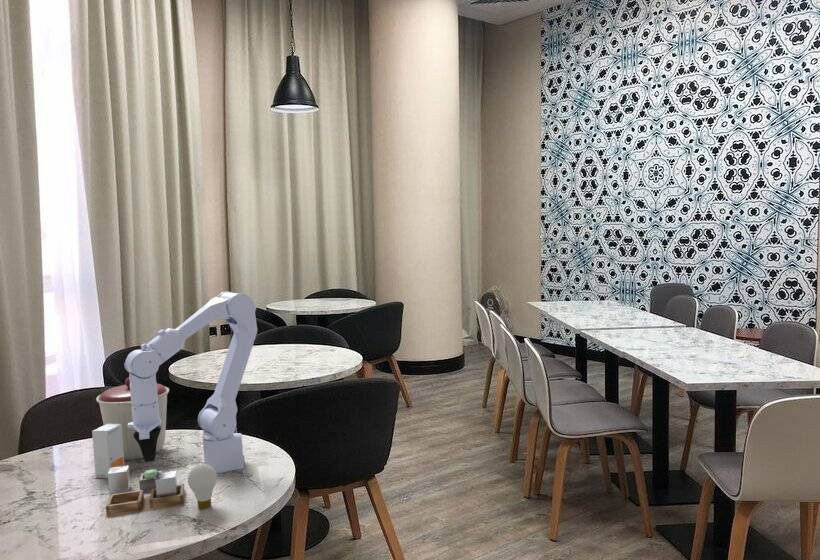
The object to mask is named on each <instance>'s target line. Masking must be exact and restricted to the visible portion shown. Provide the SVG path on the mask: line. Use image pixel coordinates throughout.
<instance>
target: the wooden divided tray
mask: <svg viewBox="0 0 820 560" xmlns="http://www.w3.org/2000/svg"><path fill="white" fill-rule="evenodd" d="M177 490H178V495H174V496H167V497H160V498H157V494H156V488H152V490H150V495H145V494H144V491H143V490H140V489H139V490H133V491H129V492H124V493H118V494H111V495H110V494H109V496H108V499H107V502H106V506H105V516H104V517H105V518H109V517H115V516H119V515H128V514H134V513H139V512H140V513H141V512H146V511H153V510H160V509H168V508H174V507H179V506H185V503H186V502H185V501H186V489H185V484H184V483H180V484H177Z"/></svg>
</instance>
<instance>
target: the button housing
mask: <svg viewBox="0 0 820 560" xmlns="http://www.w3.org/2000/svg"><path fill="white" fill-rule="evenodd" d="M157 473H163V470H157ZM155 479H156V477H154V478H147V479H145V478H144V472H142V473H140V476H139V480H138V481H139V482H138V484H139V490H143V492H144V491H145V492H146V491H152V488H156V482H155Z"/></svg>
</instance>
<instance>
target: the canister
mask: <svg viewBox="0 0 820 560" xmlns="http://www.w3.org/2000/svg"><path fill="white" fill-rule="evenodd" d="M157 392H158V404H159V415H160V419H161V424H160V425H158V426H161V430H160V434H159V436H158V439H157V447H156V454H157V453H159V452H161V450H162V449H163V448H164V445H165V442H166V441H165V440H166V429H167V428H166V426H167V410H168V409H167V405H168V394H169V392H170V388H169V387H167V386H165V385H163V384H161V383H157ZM95 400H96V402H97V403H98V404H99V408H100V414H101V418H102V423H103V426H104V425H106V424H122V437H123V451H124V461H126V460H127V461H128V460H138V459H144V458H143V455H142V452H141V449H140V446H139V444H138V442H137V441H136V440H135V438H134V432H135V431H136V430H135V429H134V428H133V427H131V428H128V423H130V422H133V416H132V405H131V395H130V378H129V376H128V377H127V378H125V381H124V384H123V385H118V386H114V387H111V388H108V389H106V390H103V392H102V393H100V394H99V395H97V397H95Z"/></svg>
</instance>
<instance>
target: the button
mask: <svg viewBox="0 0 820 560" xmlns="http://www.w3.org/2000/svg"><path fill="white" fill-rule="evenodd" d="M157 471H158V470H157V469H156V468H155V469H148V470H145V471H144V472H143V473H144V478H145V479H147V478H154V477H156V475H157Z"/></svg>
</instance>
